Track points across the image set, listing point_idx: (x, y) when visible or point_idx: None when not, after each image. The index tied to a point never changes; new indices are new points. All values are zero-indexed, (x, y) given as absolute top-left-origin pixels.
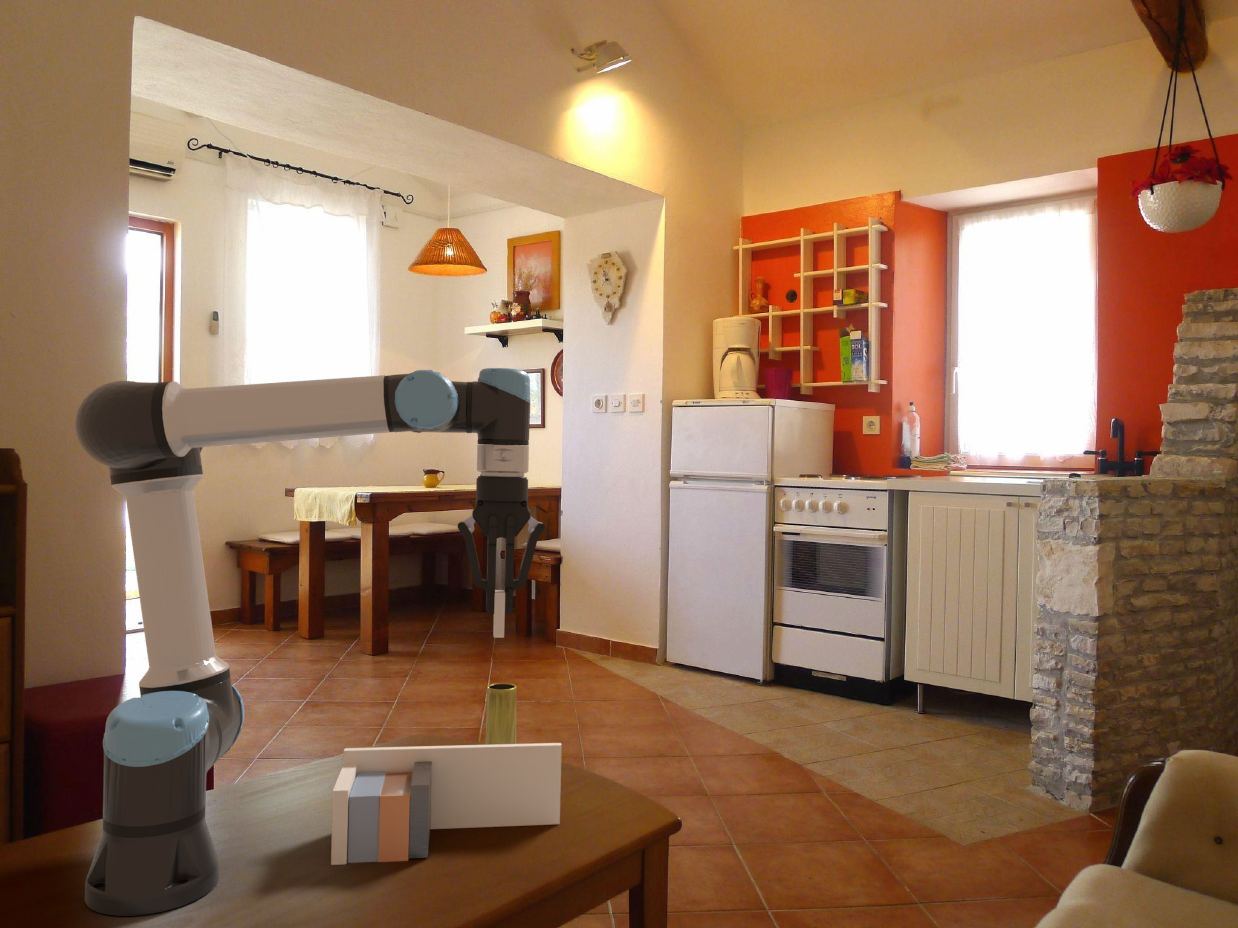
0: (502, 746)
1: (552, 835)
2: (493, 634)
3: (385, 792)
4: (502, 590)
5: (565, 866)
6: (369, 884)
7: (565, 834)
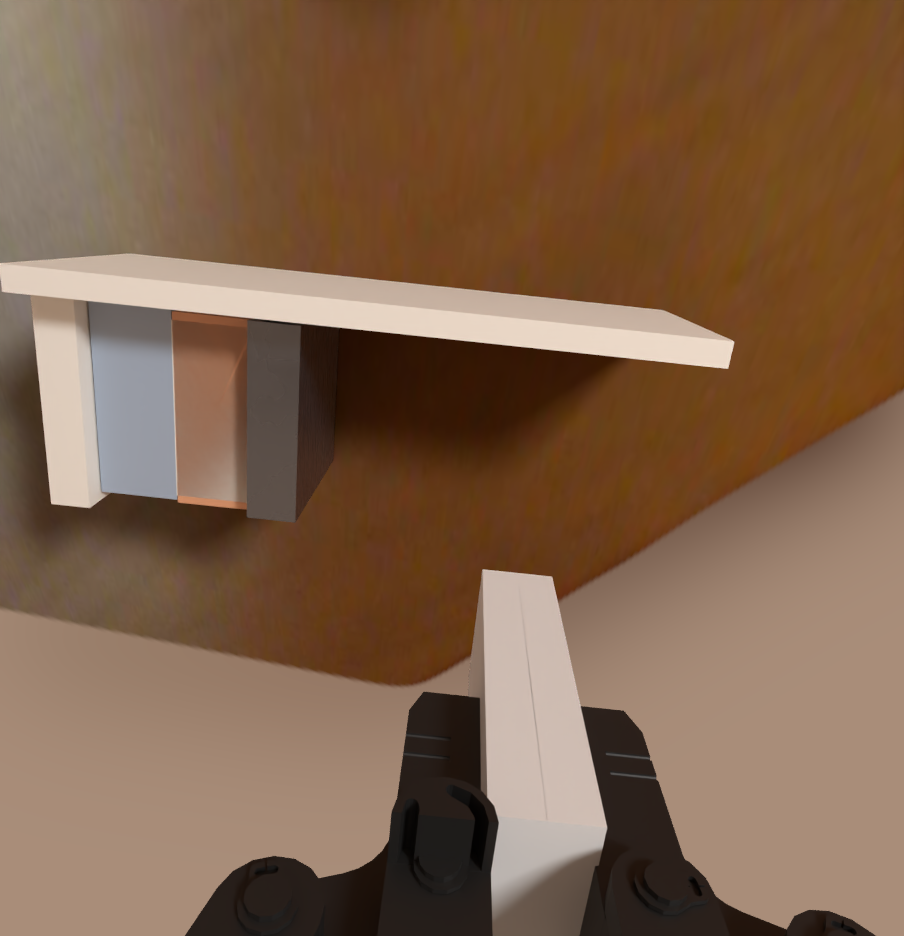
0: (526, 343)
1: (622, 393)
2: (477, 611)
3: (189, 478)
4: (578, 844)
5: (605, 548)
6: (227, 543)
7: (654, 394)
